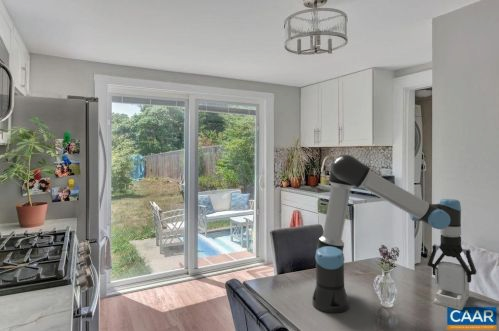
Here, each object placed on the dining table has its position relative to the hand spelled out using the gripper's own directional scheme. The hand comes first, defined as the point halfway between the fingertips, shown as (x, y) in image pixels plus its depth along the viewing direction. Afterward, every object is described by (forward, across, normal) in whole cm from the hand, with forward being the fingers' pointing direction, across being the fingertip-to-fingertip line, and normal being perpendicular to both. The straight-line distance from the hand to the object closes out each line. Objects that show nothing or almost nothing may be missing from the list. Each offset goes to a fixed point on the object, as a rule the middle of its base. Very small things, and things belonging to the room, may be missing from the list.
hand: (451, 286), depth 133 cm
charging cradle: (+6, 0, 0) cm, 6 cm away
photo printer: (+2, 0, 0) cm, 2 cm away
